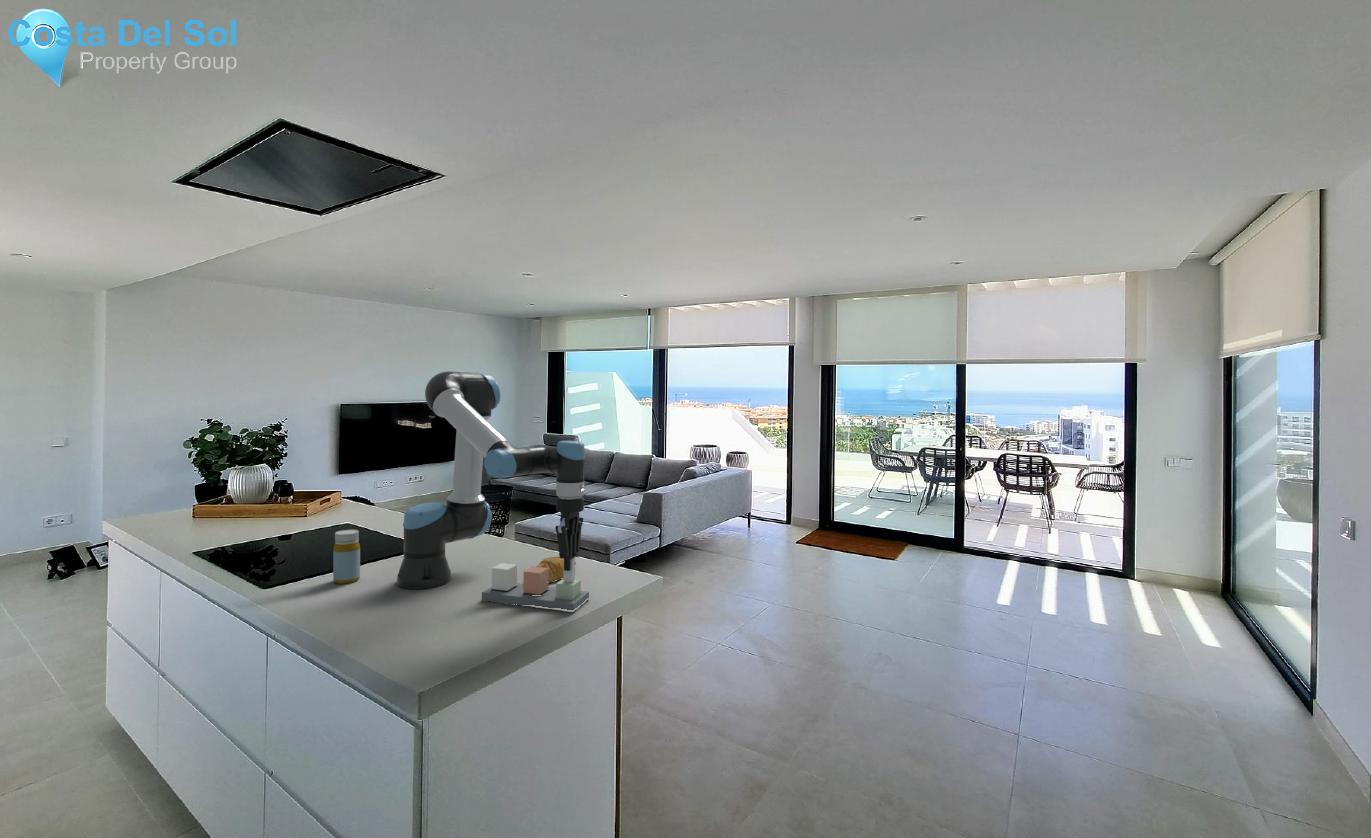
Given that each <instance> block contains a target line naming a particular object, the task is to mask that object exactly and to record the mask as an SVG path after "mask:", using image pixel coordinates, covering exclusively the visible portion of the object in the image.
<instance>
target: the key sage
mask: <svg viewBox="0 0 1371 838" xmlns="http://www.w3.org/2000/svg"><path fill="white" fill-rule="evenodd" d="M581 585H582V581H581V579H576V578H575V581H573V582H565V581H563V579H561V580H558V581H557V582H555V588H556V599H564V600H572V601H573V600H575V599H576V598H577V597H578V596H580V591H582V590H581V587H582V586H581Z"/></svg>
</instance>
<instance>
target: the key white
mask: <svg viewBox="0 0 1371 838" xmlns="http://www.w3.org/2000/svg"><path fill="white" fill-rule="evenodd" d="M517 583H518V564H512V563H504V562H501V563H499V564H497V565H495V566H493V567H491V587H492V589H497V590H505V591H508V590H510V589H511V588H513V587H515V586H516V585H517Z"/></svg>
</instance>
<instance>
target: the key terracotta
mask: <svg viewBox="0 0 1371 838" xmlns="http://www.w3.org/2000/svg"><path fill="white" fill-rule="evenodd" d="M548 571H549V568H542V567H536V566H530V568H527V569H525V570H524V571H523V583H522V584H523V593H530V594H538V595H540V594H541V593H543V592H544V591H546V590H547V589H548V587H549V583H548Z"/></svg>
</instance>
